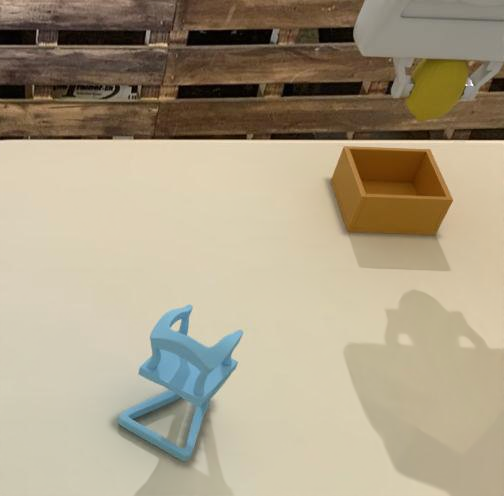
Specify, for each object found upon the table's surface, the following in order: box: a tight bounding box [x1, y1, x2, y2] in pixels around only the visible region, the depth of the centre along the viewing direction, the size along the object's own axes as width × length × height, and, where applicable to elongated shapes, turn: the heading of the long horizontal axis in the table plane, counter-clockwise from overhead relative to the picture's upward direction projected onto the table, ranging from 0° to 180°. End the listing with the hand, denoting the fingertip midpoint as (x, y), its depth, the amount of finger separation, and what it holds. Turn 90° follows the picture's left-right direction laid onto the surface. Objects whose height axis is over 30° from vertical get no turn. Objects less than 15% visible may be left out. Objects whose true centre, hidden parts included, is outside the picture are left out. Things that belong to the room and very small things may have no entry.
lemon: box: [404, 58, 469, 123], centre depth 95 cm, size 6×6×8 cm
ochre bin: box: [330, 145, 454, 236], centre depth 105 cm, size 10×10×5 cm
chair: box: [117, 304, 244, 462], centre depth 82 cm, size 8×8×12 cm
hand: (430, 97), depth 96 cm, fingers closed on lemon, 5 cm apart
